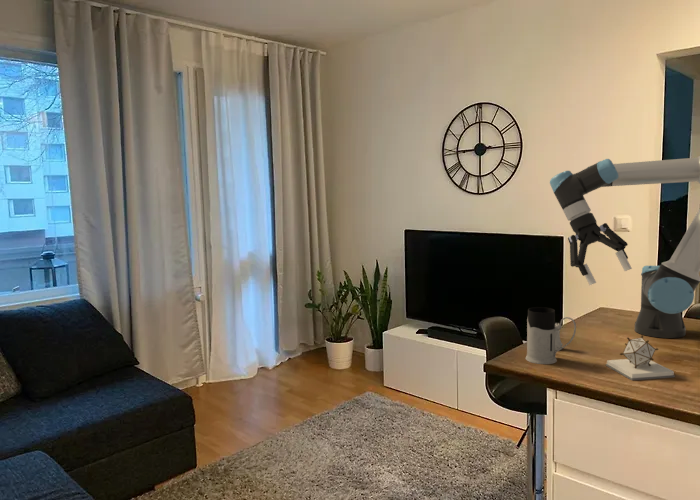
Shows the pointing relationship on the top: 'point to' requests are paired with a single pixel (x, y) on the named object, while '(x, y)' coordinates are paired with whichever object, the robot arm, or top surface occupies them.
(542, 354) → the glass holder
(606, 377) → the top surface
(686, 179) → the robot arm
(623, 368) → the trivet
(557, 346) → the rook chess piece
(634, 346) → the game die
